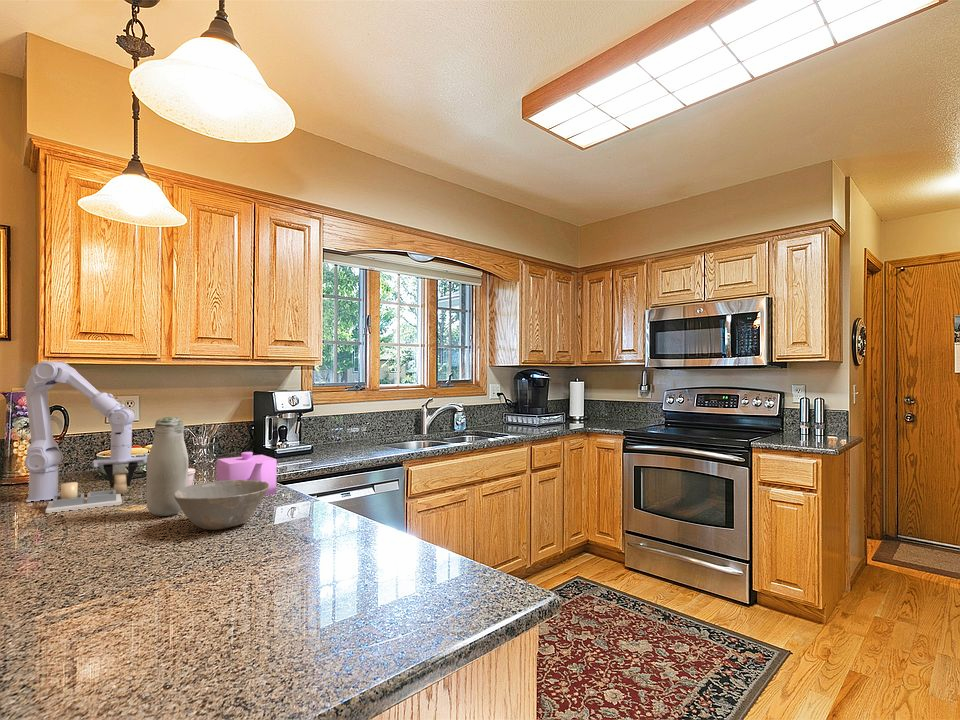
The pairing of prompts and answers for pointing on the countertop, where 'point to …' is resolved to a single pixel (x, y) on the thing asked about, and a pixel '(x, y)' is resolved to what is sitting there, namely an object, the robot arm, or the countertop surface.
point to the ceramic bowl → (220, 502)
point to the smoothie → (190, 476)
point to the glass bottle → (166, 467)
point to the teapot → (249, 469)
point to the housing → (81, 499)
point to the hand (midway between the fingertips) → (120, 486)
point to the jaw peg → (120, 482)
